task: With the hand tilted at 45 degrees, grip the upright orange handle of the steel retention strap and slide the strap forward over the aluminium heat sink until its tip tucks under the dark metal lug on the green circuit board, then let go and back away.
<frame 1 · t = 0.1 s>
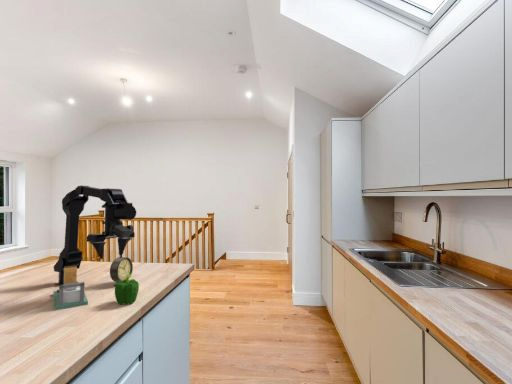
hand: (111, 257, 119), 15 cm above the worktop, tool pointing down, fingers open, 9 cm apart
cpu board: (70, 301, 108), on the worktop
alarm clock: (120, 284, 132), on the worktop
bell pepper: (126, 303, 108), on the worktop
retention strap: (70, 282, 109), point 7 cm above the worktop, slide at 0.0 cm
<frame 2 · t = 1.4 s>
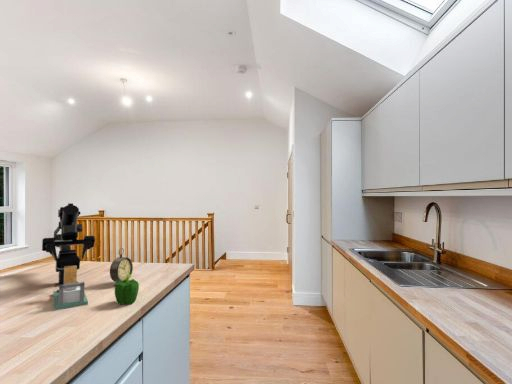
hand: (69, 259, 119), 13 cm above the worktop, tool tilted 45°, fingers open, 9 cm apart
nothing on the worktop moved.
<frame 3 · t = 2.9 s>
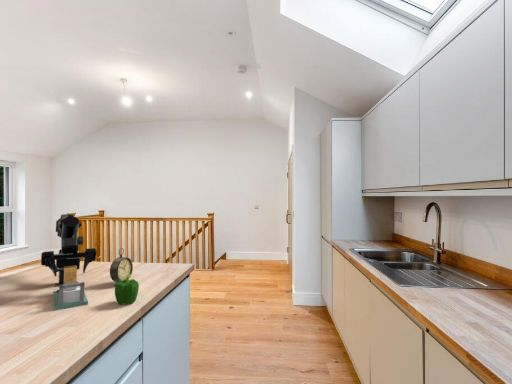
hand: (70, 274, 113), 9 cm above the worktop, tool tilted 45°, fingers open, 9 cm apart
nothing on the worktop moved.
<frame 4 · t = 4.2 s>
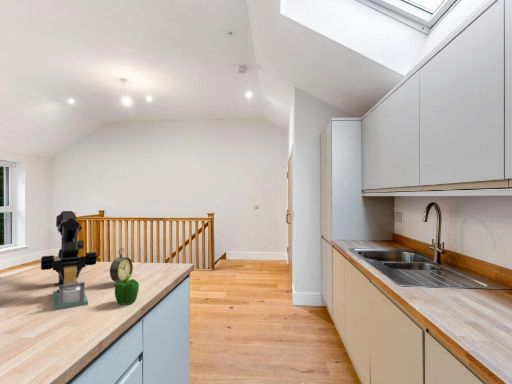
hand: (70, 278, 111), 8 cm above the worktop, tool tilted 45°, fingers closed on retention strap, 4 cm apart
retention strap: (70, 282, 109), point 7 cm above the worktop, slide at 0.0 cm, touching gripper
everything else where it was.
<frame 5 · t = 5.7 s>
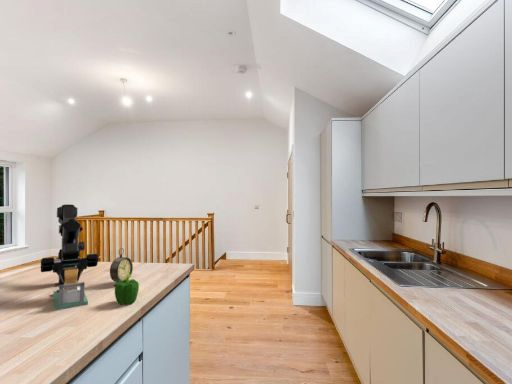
hand: (71, 281, 108), 8 cm above the worktop, tool tilted 45°, fingers closed on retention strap, 4 cm apart
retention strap: (71, 285, 106), point 7 cm above the worktop, slide at 3.9 cm, touching gripper
everything else where it was.
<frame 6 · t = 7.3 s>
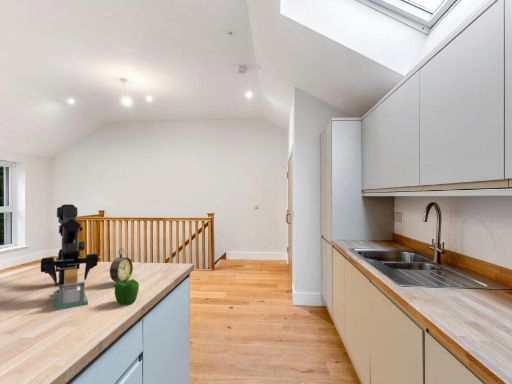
hand: (71, 281, 108), 8 cm above the worktop, tool tilted 45°, fingers open, 9 cm apart
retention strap: (71, 285, 106), point 7 cm above the worktop, slide at 3.9 cm
everything else where it was.
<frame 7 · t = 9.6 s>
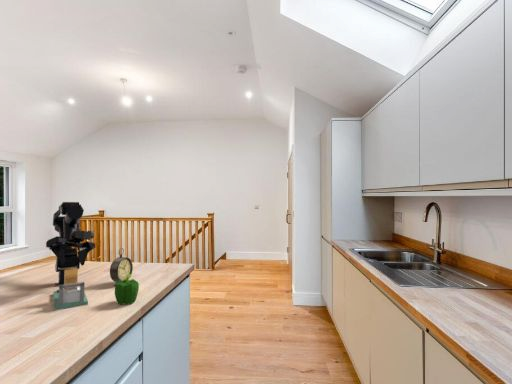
hand: (73, 264, 118), 12 cm above the worktop, tool tilted 25°, fingers open, 9 cm apart
nothing on the worktop moved.
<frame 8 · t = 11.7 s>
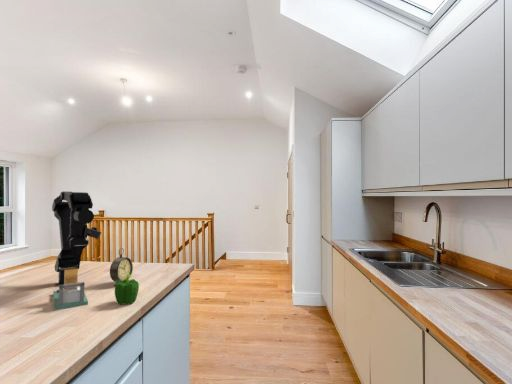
hand: (77, 259, 120), 13 cm above the worktop, tool pointing down, fingers open, 9 cm apart
nothing on the worktop moved.
at the end: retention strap slide at 3.9 cm; the gripper is holding nothing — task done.
